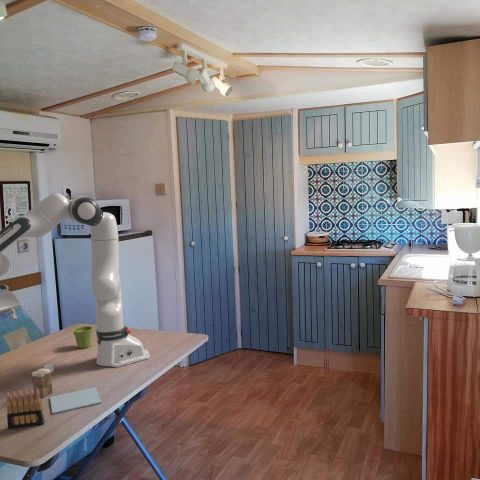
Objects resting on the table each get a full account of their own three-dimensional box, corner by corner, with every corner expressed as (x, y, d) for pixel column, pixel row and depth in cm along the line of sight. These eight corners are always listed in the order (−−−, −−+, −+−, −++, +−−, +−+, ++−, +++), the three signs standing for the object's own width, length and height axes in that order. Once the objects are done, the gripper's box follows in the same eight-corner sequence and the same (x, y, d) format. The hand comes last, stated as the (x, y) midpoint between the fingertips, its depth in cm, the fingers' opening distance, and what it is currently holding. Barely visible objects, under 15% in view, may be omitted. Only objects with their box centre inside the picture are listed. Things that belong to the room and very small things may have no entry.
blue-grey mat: (95, 388, 184) (95, 387, 184) (101, 403, 171) (101, 401, 171) (50, 398, 178) (49, 396, 178) (52, 414, 165) (52, 412, 165)
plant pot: (70, 347, 234) (69, 329, 233) (89, 342, 240) (87, 324, 239) (79, 351, 227) (77, 333, 226) (98, 346, 234) (96, 328, 233)
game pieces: (46, 371, 206) (45, 364, 205) (54, 370, 206) (53, 363, 205) (36, 382, 194) (35, 374, 193) (45, 382, 194) (44, 374, 193)
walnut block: (43, 391, 184) (40, 368, 183) (52, 392, 183) (50, 369, 182) (34, 396, 180) (31, 373, 179) (43, 397, 179) (41, 374, 177)
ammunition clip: (7, 429, 156) (3, 393, 155) (9, 426, 158) (5, 391, 157) (43, 424, 158) (39, 389, 157) (44, 422, 160) (40, 386, 158)
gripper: (-36, 294, 176) (-15, 324, 173) (10, 284, 195) (30, 311, 192) (-44, 305, 178) (-24, 335, 175) (2, 294, 197) (21, 321, 194)
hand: (5, 322), depth 184 cm, fingers open, 8 cm apart
